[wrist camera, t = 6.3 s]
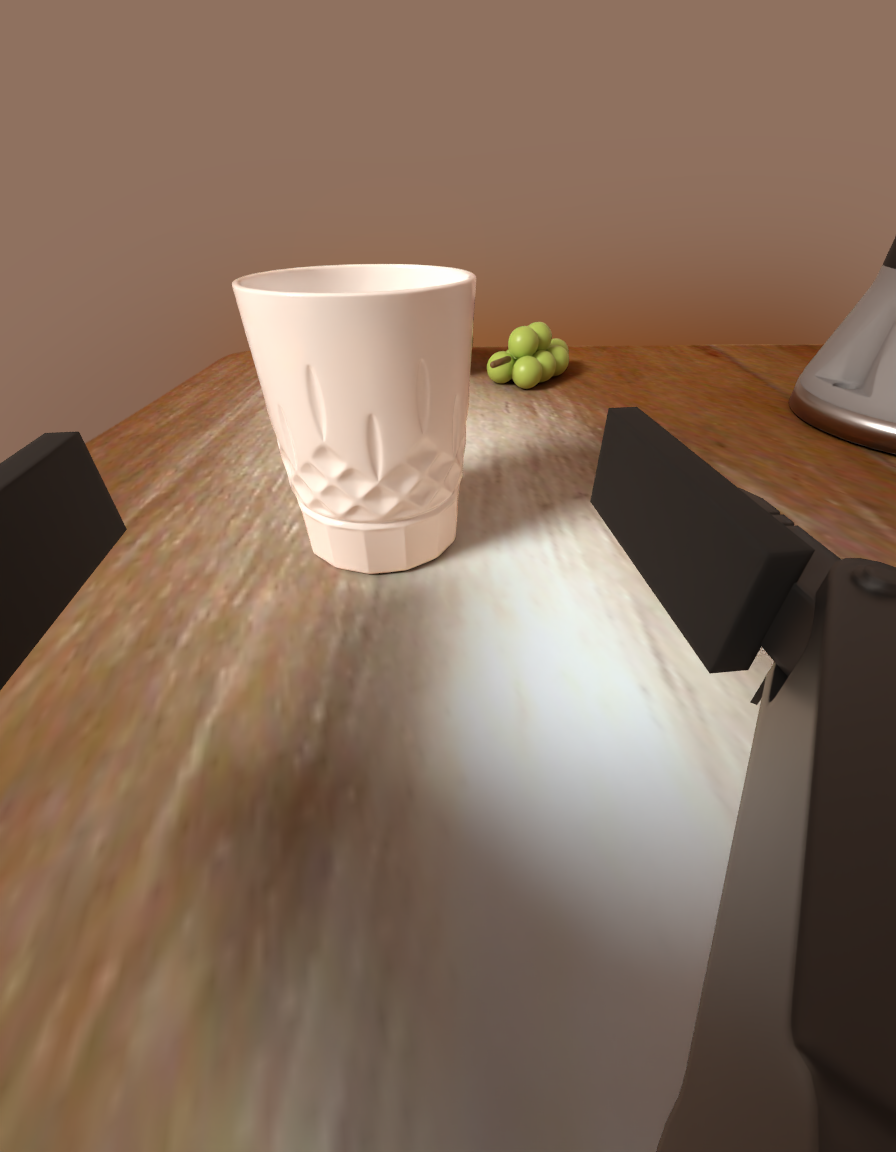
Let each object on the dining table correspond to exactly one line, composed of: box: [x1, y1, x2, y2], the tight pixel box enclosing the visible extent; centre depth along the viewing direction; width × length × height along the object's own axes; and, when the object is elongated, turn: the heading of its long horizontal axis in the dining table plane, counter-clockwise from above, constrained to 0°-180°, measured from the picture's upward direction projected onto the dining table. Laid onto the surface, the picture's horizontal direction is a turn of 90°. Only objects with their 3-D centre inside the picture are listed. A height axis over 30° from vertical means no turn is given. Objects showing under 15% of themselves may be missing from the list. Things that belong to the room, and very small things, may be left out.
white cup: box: [232, 264, 476, 574], centre depth 19 cm, size 8×8×10 cm
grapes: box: [487, 322, 569, 389], centre depth 40 cm, size 11×5×4 cm, turn 141°
